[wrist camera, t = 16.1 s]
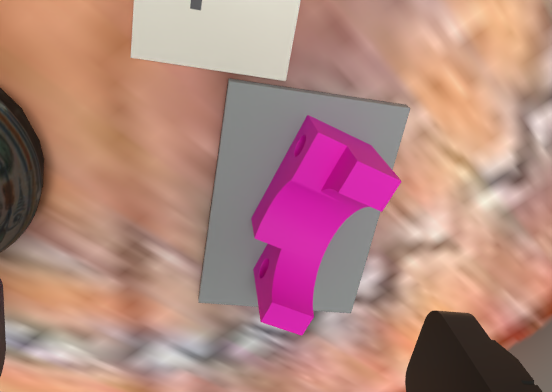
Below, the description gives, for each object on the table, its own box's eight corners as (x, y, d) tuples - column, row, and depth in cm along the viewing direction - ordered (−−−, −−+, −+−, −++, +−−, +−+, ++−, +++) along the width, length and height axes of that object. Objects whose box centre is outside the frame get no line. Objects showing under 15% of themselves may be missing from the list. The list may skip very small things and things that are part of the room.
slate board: (198, 296, 49) (198, 302, 48) (228, 78, 40) (229, 81, 40) (348, 306, 52) (350, 313, 51) (406, 104, 43) (410, 108, 42)
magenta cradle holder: (307, 114, 42) (326, 146, 35) (371, 145, 43) (401, 181, 37) (228, 259, 47) (231, 312, 40) (288, 281, 48) (301, 335, 42)
